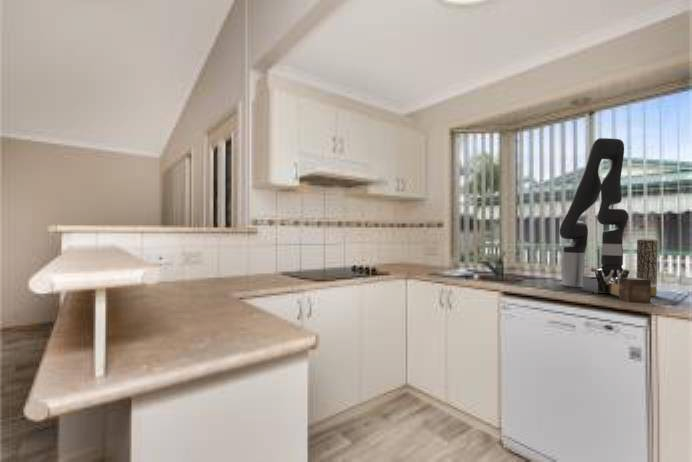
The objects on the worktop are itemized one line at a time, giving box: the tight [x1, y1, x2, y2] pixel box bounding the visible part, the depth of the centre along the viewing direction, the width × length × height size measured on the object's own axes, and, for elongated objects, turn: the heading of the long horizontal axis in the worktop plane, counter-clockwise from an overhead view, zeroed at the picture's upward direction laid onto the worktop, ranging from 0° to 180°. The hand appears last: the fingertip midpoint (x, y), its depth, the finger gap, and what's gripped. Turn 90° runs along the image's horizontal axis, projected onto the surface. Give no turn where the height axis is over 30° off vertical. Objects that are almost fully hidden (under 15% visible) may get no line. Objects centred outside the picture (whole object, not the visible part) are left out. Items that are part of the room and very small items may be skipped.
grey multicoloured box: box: [581, 274, 614, 294], centre depth 156 cm, size 10×8×7 cm
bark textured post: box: [635, 238, 659, 297], centre depth 150 cm, size 7×7×25 cm
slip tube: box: [595, 279, 619, 296], centre depth 150 cm, size 19×4×4 cm, turn 0°
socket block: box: [618, 277, 652, 303], centre depth 136 cm, size 5×8×9 cm, turn 90°
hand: (611, 292), depth 148 cm, fingers closed on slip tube, 4 cm apart
